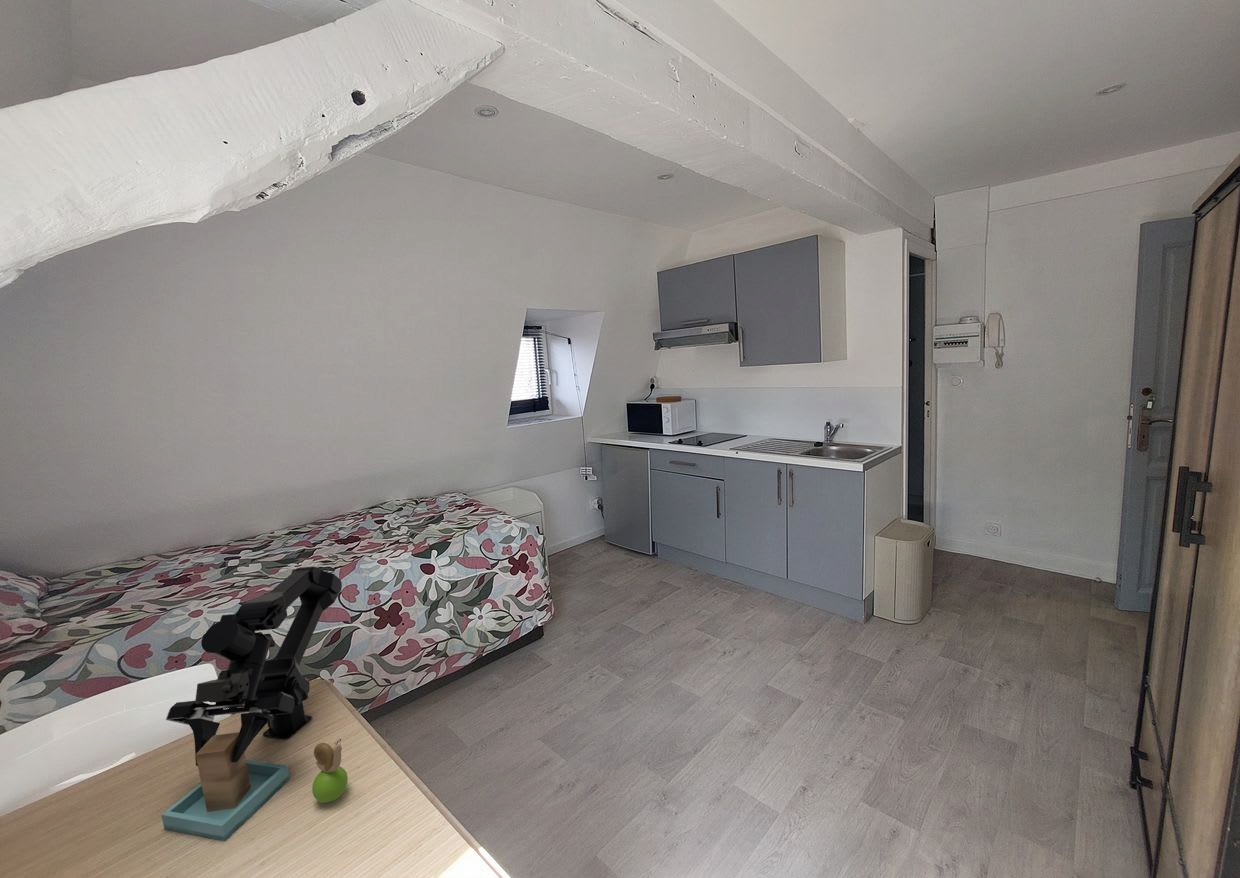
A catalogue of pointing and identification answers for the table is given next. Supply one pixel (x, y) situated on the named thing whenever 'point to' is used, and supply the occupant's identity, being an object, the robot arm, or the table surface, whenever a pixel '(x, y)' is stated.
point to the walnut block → (222, 773)
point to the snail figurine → (329, 773)
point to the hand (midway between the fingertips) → (216, 764)
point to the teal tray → (223, 823)
